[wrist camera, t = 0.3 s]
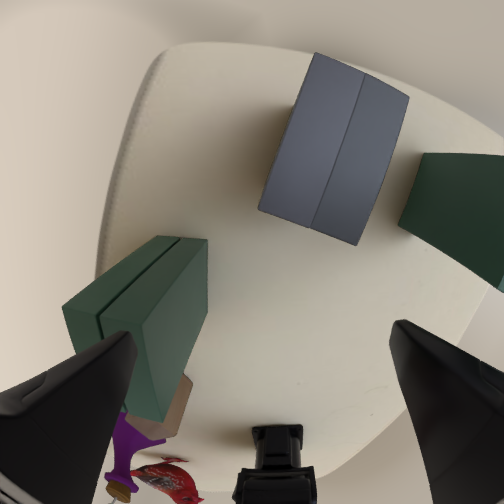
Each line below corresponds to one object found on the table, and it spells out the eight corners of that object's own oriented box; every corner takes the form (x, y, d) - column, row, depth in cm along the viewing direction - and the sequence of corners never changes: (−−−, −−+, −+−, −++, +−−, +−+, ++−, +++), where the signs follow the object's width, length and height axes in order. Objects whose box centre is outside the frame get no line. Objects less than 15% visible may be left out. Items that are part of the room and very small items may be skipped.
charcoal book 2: (316, 206, 21) (357, 246, 11) (290, 196, 21) (308, 228, 11) (345, 125, 19) (410, 96, 9) (319, 115, 19) (364, 71, 8)
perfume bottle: (166, 393, 29) (116, 517, 12) (172, 426, 31) (136, 531, 14) (113, 379, 29) (51, 483, 12) (124, 412, 32) (78, 506, 15)
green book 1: (183, 309, 25) (125, 413, 13) (161, 306, 25) (95, 403, 13) (180, 236, 23) (94, 314, 10) (156, 235, 23) (60, 306, 10)
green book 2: (207, 312, 25) (163, 424, 12) (185, 309, 25) (128, 414, 13) (208, 239, 23) (141, 324, 10) (182, 237, 23) (98, 315, 10)
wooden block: (148, 370, 28) (122, 419, 20) (171, 359, 27) (146, 413, 20) (171, 392, 29) (151, 442, 21) (195, 383, 28) (177, 437, 20)
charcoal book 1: (290, 196, 21) (309, 229, 11) (264, 187, 21) (256, 209, 11) (320, 115, 19) (366, 73, 8) (293, 105, 19) (315, 51, 8)
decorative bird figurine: (214, 465, 35) (205, 513, 25) (126, 452, 37) (110, 490, 27) (209, 457, 34) (199, 508, 24) (119, 444, 36) (101, 483, 26)
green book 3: (415, 234, 21) (514, 299, 9) (397, 225, 21) (497, 289, 9) (441, 164, 19) (553, 180, 7) (423, 152, 19) (538, 159, 7)
